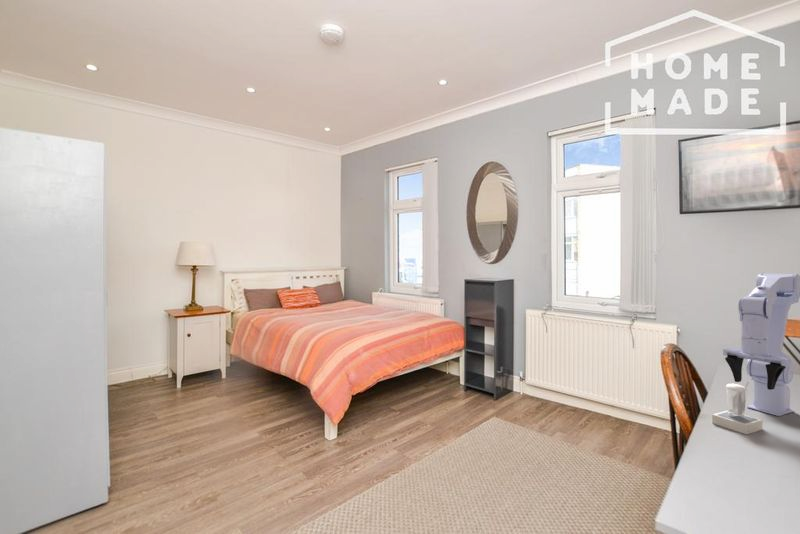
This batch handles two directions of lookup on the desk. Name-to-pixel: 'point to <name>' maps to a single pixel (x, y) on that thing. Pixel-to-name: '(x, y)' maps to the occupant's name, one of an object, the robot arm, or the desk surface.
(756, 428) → the plinth
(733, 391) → the milkshake
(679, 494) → the desk surface
